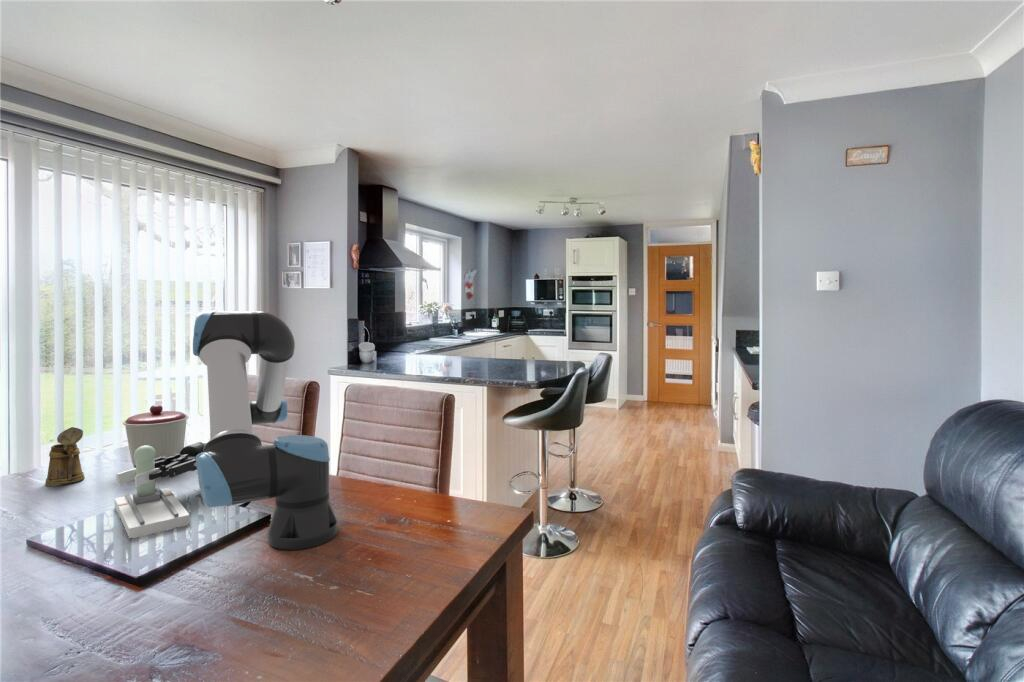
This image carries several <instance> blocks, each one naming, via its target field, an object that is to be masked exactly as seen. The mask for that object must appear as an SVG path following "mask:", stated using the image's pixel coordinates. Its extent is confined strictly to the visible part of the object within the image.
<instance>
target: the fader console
mask: <svg viewBox="0 0 1024 682" xmlns="http://www.w3.org/2000/svg"><path fill="white" fill-rule="evenodd" d="M155 489H157V490H158V492H159V493H160V499H159V500H154V501H149V502H145V503H140V504H136V503H135V502H134V500H133V494H130V493H125V494H124V496H119V497H115V498H114V508H116V509H115V511H116V510H117V511H116V513H117V512H118V513H117V515H118V514H119V515H118V517H119V516H120V517H119V519H120V518H121V520H122V522H121V523H123V524H122V526H123V525H124V526H123V528H124V527H125V528H124V530H126V531H125V532H127V533H126V535H127V534H128V535H127V536H129V537H128V539H129V540H131V539H130V538H133V539H136V538H140V536H141V537H145V536H149V535H152V533H153V534H157V533H161V532H160V531H162V532H164V531H163V530H166V531H168V530H167V529H170V528H174V529H176V528H175V527H178V528H180V527H179V526H182V527H185V526H184V525H187V526H189V525H188V524H190V525H191V521H190V519H191V518H190V517H191V516H190V515H191V514H190V513H189V512H188V511H187V509H185V507H184V506H183V505H182V503H181V502H180V501H179V500H178V498H177V497H176V495H175V494H174V493H173V492H172V491H171V490H170V488H169V487H166V488H160V487H155ZM121 520H120V521H121ZM170 530H171V529H170ZM156 532H157V533H156ZM148 534H149V535H148ZM144 535H145V536H144Z"/></svg>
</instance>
